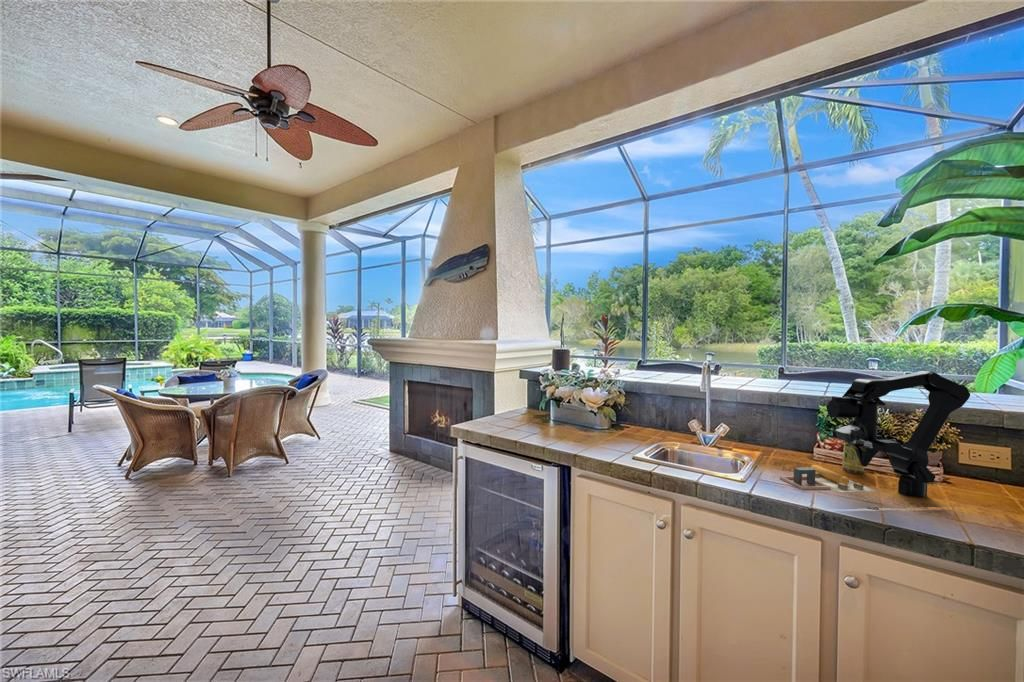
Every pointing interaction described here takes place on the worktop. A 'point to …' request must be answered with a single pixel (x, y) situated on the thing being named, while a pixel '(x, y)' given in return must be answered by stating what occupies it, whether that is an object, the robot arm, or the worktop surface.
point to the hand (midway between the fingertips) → (864, 466)
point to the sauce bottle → (851, 460)
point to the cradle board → (842, 485)
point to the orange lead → (830, 475)
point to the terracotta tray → (822, 486)
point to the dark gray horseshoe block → (800, 471)
